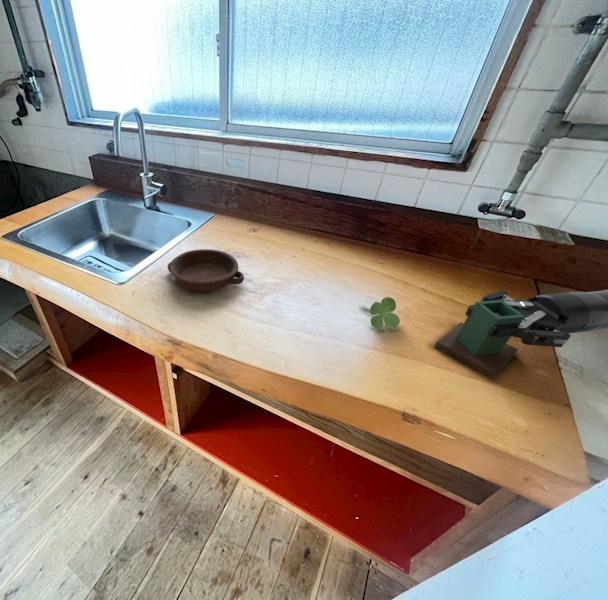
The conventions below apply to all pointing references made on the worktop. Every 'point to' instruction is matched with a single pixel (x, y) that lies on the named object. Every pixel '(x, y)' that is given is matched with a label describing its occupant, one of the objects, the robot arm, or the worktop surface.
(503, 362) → the brown peg stand
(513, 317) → the sleeve
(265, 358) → the worktop surface
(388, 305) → the green leafy piece
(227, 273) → the dish
